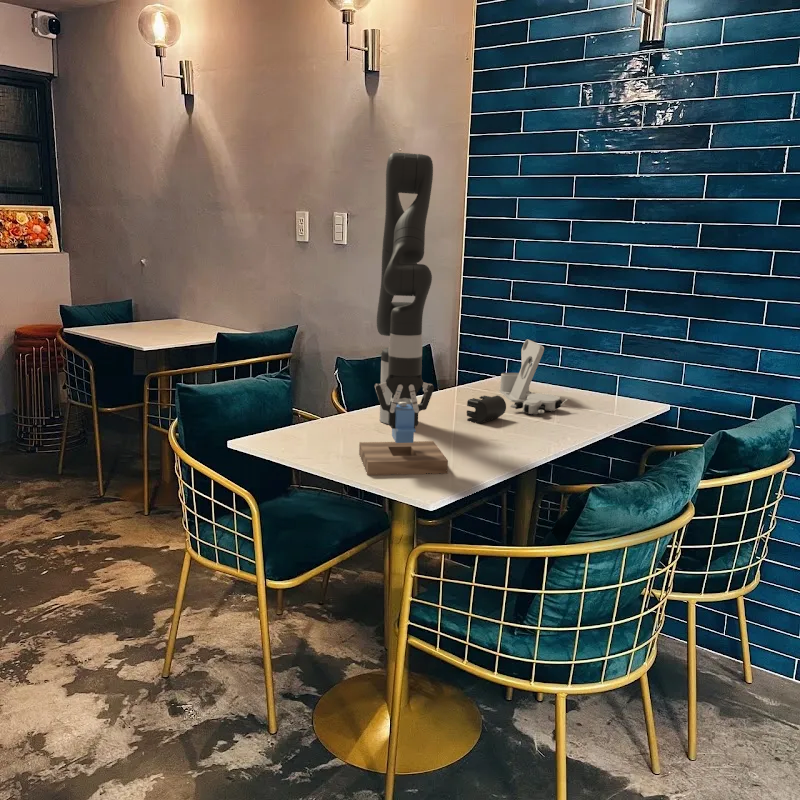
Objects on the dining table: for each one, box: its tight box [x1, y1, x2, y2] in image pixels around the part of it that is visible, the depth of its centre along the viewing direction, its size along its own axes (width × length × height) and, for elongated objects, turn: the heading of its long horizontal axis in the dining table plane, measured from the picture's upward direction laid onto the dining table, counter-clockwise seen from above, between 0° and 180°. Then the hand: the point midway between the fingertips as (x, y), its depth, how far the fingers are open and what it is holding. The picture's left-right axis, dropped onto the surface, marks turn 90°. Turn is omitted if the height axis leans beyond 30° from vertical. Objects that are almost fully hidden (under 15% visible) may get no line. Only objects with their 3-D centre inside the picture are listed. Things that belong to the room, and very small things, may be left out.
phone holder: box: [498, 339, 545, 403], centre depth 260 cm, size 17×10×18 cm, turn 8°
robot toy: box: [509, 392, 568, 416], centre depth 240 cm, size 12×4×15 cm
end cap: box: [466, 395, 507, 424], centre depth 227 cm, size 10×7×7 cm
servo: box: [391, 402, 416, 443], centre depth 182 cm, size 10×4×8 cm, turn 9°
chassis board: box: [358, 440, 449, 476], centre depth 184 cm, size 16×18×3 cm
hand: (403, 427), depth 183 cm, fingers closed on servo, 4 cm apart
